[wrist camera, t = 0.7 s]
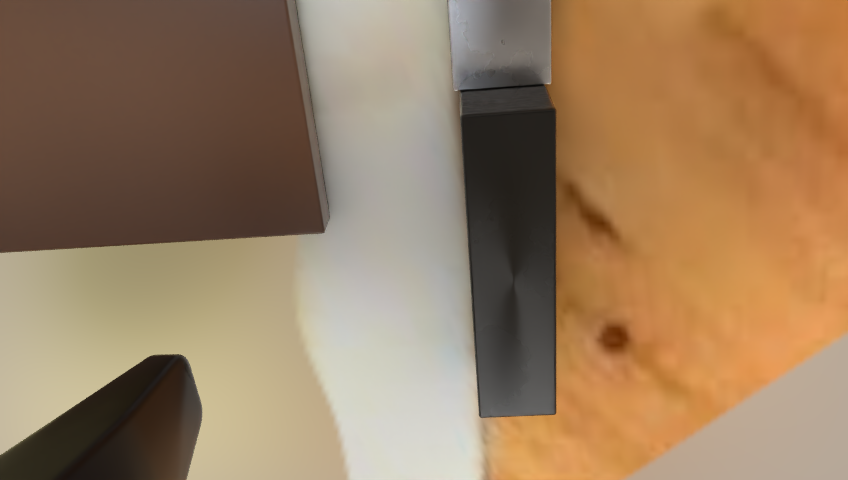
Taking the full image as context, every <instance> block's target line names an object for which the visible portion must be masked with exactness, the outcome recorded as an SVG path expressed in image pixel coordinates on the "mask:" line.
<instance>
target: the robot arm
mask: <svg viewBox="0 0 848 480" xmlns="http://www.w3.org/2000/svg"><path fill="white" fill-rule="evenodd" d="M201 421H202V405H201V401H200V397H199V394H198V391H197V388H196V384H195V381H194V377H193V374H192V370H191V367H190V364H189V362H188V360H187V359H186V357H184V356H182V355H179V354H175V355H174V354H173V355H153V356H150V357H148V358H146V359H145V360H143V361H142V362H140V363H139V364H137V365H136V366H134V367H133V368H131V369H130V370H128V371H127V372H125V373H124V374H122V375H121V376H119V377H118V378H116V379H115V380H113V381H112V382H110V383H109V384H107V385H106V386H104V387H103V388H101V389H100V390H98V391H97V392H95V393H94V394H92V395H91V396H89V397H88V398H86V399H85V400H83V401H81V402H80V403H79V404H77V405H75V406H74V407H72V408H71V409H69V410H68V411H67V412H65V413H64V414H62V415H61V416H59V417H57V418H56V419H54V420H53V421H51V422H50V423H48V424H47V425H45V426H44V427H42V428H41V429H39V430H38V431H36V432H35V433H33V434H32V435H30V436H29V437H27V438H26V439H24V440H23V441H21V442H20V443H18V444H17V445H15V446H14V447H12V448H11V449H9V450H8V451H6V452H5V453H3V454H2V455H0V480H186V479H187V476H188V472H189V468H190V464H191V460H192V456H193V453H194V449H195V445H196V441H197V437H198V434H199V430H200V426H201Z"/></svg>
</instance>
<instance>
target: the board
mask: <svg viewBox="0 0 848 480" xmlns="http://www.w3.org/2000/svg"><path fill="white" fill-rule="evenodd" d="M329 218H330V216H329V210H328V203H327V197H326V191H325V185H324V178H323V172H322V166H321V160H320V153H319V147H318V141H317V134H316V128H315V122H314V116H313V109H312V103H311V97H310V91H309V84H308V78H307V72H306V66H305V59H304V53H303V47H302V41H301V34H300V28H299V22H298V15H297V9H296V3H295V0H0V253H5V252H22V251H38V250H55V249H71V248H87V247H104V246H120V245H137V244H153V243H170V242H185V241H202V240H219V239H235V238H252V237H267V236H285V235H302V234H318V233H324V232H325V229H326V227H327V224H328V221H329Z"/></svg>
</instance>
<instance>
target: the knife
mask: <svg viewBox="0 0 848 480" xmlns="http://www.w3.org/2000/svg"><path fill="white" fill-rule="evenodd" d="M447 2H448V17H449V32H450V47H451V62H452V77H453V90H454V91H459V96H460V121H461V137H462V153H463V169H464V185H465V200H466V216H467V232H468V248H469V264H470V279H471V295H472V311H473V327H474V343H475V358H476V374H477V390H478V406H479V416H480V417H481V418H486V417H510V416H534V415H554V414H556V109H555V107H554V105H553V102H552V100H551V98H550V96H549V94H548V91H547V89H546V87H545V85H544V84H551V0H447Z"/></svg>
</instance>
